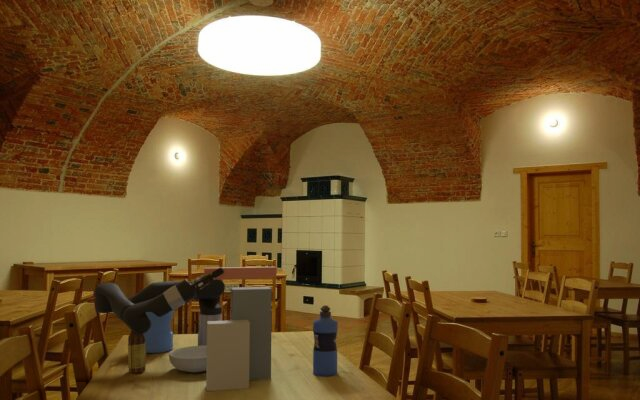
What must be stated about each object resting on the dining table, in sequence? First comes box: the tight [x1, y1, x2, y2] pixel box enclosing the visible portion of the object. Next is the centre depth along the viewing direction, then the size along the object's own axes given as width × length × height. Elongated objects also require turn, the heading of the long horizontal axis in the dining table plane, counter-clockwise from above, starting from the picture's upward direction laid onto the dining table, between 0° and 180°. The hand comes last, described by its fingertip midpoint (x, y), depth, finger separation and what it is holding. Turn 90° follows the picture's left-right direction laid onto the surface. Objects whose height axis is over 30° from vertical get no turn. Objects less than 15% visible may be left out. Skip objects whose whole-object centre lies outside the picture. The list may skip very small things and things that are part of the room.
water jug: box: [143, 309, 175, 354], centre depth 240 cm, size 16×16×28 cm
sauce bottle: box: [127, 330, 147, 374], centre depth 204 cm, size 7×6×20 cm
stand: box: [205, 286, 273, 392], centre depth 192 cm, size 23×18×32 cm
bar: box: [203, 265, 278, 280], centre depth 198 cm, size 26×4×4 cm, turn 104°
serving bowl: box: [168, 345, 207, 374], centre depth 207 cm, size 21×21×7 cm
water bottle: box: [312, 305, 339, 378], centre depth 203 cm, size 9×9×25 cm
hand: (222, 269), depth 196 cm, fingers closed on bar, 4 cm apart
